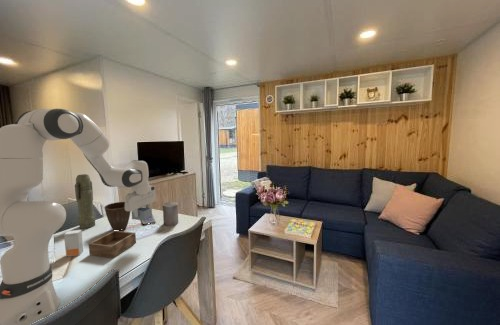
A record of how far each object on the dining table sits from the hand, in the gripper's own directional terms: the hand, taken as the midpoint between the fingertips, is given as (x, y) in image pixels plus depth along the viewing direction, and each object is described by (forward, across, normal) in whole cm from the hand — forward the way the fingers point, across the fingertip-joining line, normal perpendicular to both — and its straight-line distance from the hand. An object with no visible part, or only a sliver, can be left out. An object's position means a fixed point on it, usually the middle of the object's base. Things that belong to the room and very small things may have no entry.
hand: (142, 214), depth 121 cm
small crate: (+2, 0, 0) cm, 2 cm away
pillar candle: (+17, +30, +2) cm, 34 cm away
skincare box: (+18, -18, +26) cm, 36 cm away
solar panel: (+17, +32, +23) cm, 43 cm away
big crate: (+17, -8, +12) cm, 22 cm away
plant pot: (+17, +13, +29) cm, 36 cm away
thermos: (+17, +12, +54) cm, 58 cm away
